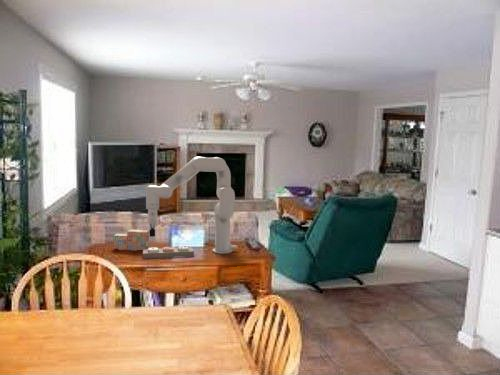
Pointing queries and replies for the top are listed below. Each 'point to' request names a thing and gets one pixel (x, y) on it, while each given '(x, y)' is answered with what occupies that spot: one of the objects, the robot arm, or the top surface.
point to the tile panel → (167, 253)
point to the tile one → (153, 249)
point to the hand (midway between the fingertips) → (152, 236)
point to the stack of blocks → (132, 240)
